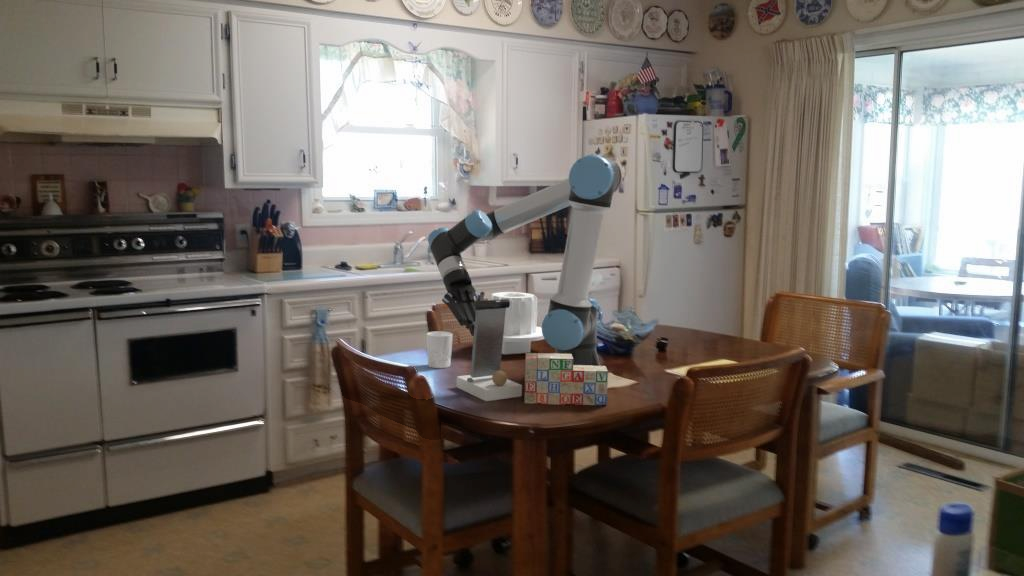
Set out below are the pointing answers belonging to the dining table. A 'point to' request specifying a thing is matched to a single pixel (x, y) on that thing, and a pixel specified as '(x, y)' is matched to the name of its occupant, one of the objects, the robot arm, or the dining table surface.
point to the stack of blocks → (563, 380)
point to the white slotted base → (490, 386)
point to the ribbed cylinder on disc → (519, 322)
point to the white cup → (439, 349)
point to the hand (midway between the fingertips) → (482, 344)
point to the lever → (488, 336)
